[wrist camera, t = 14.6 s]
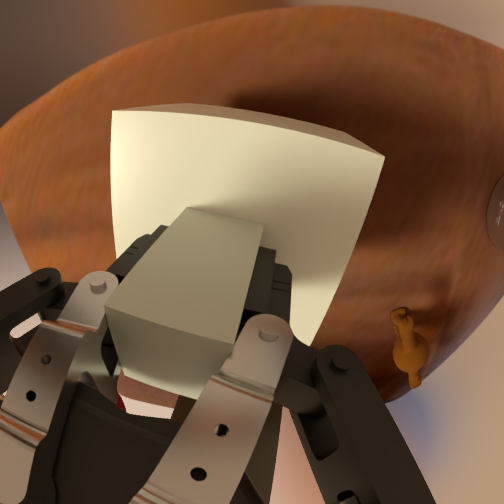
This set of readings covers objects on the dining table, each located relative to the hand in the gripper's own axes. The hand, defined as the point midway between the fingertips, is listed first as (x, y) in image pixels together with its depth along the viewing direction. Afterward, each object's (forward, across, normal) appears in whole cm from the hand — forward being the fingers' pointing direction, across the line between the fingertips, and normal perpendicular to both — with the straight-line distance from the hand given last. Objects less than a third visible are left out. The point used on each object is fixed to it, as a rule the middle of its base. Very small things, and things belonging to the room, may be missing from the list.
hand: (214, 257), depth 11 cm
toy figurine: (+12, -18, +11) cm, 24 cm away
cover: (+10, 0, 0) cm, 10 cm away
